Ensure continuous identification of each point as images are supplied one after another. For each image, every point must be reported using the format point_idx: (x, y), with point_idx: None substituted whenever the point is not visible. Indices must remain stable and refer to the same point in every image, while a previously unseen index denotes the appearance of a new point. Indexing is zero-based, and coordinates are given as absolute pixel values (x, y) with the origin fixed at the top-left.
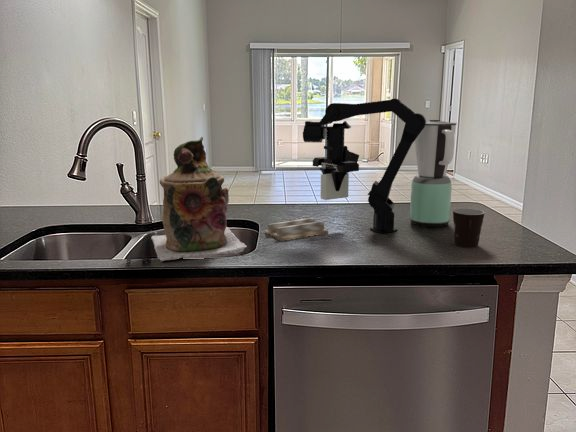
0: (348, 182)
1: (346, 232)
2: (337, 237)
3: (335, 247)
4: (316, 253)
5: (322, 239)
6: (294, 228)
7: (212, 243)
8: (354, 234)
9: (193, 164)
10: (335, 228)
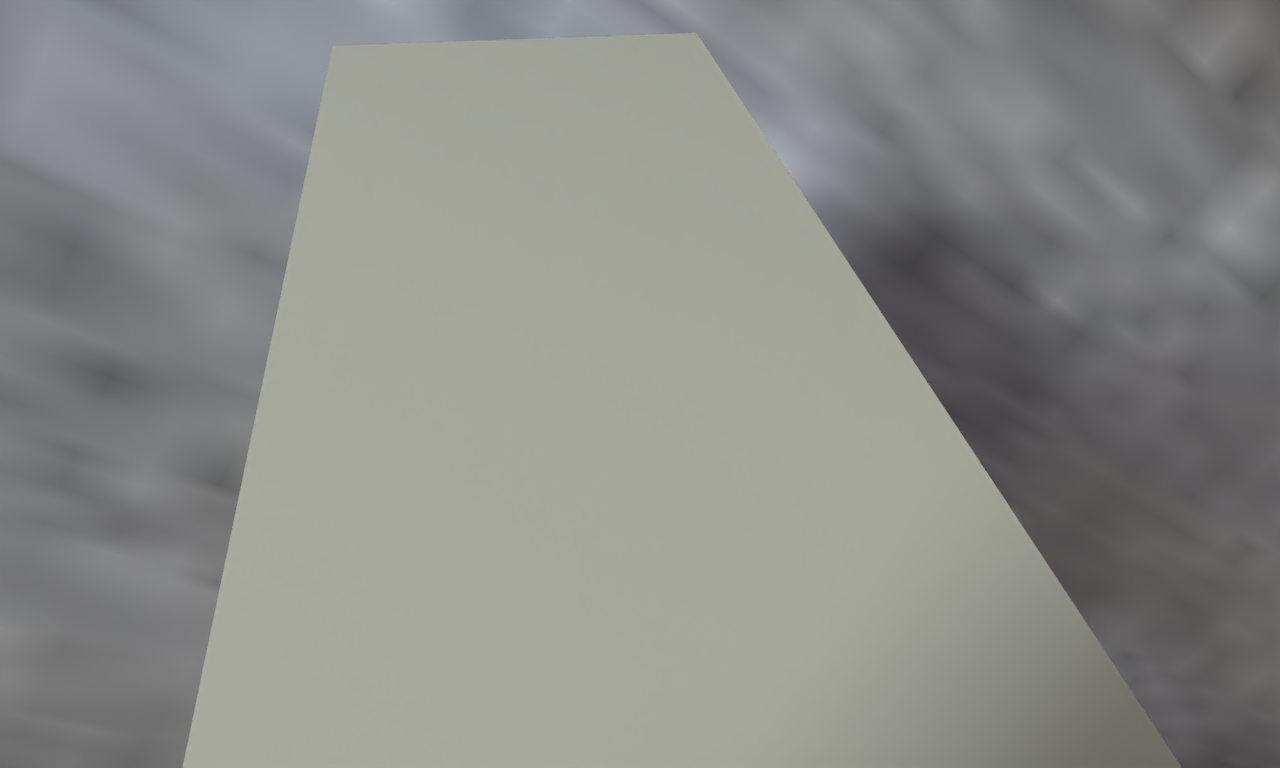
0: (904, 350)
1: (895, 119)
2: (1002, 364)
3: (1251, 547)
4: (1229, 726)
5: None
6: None
7: None
8: (1066, 75)
9: None
10: None
